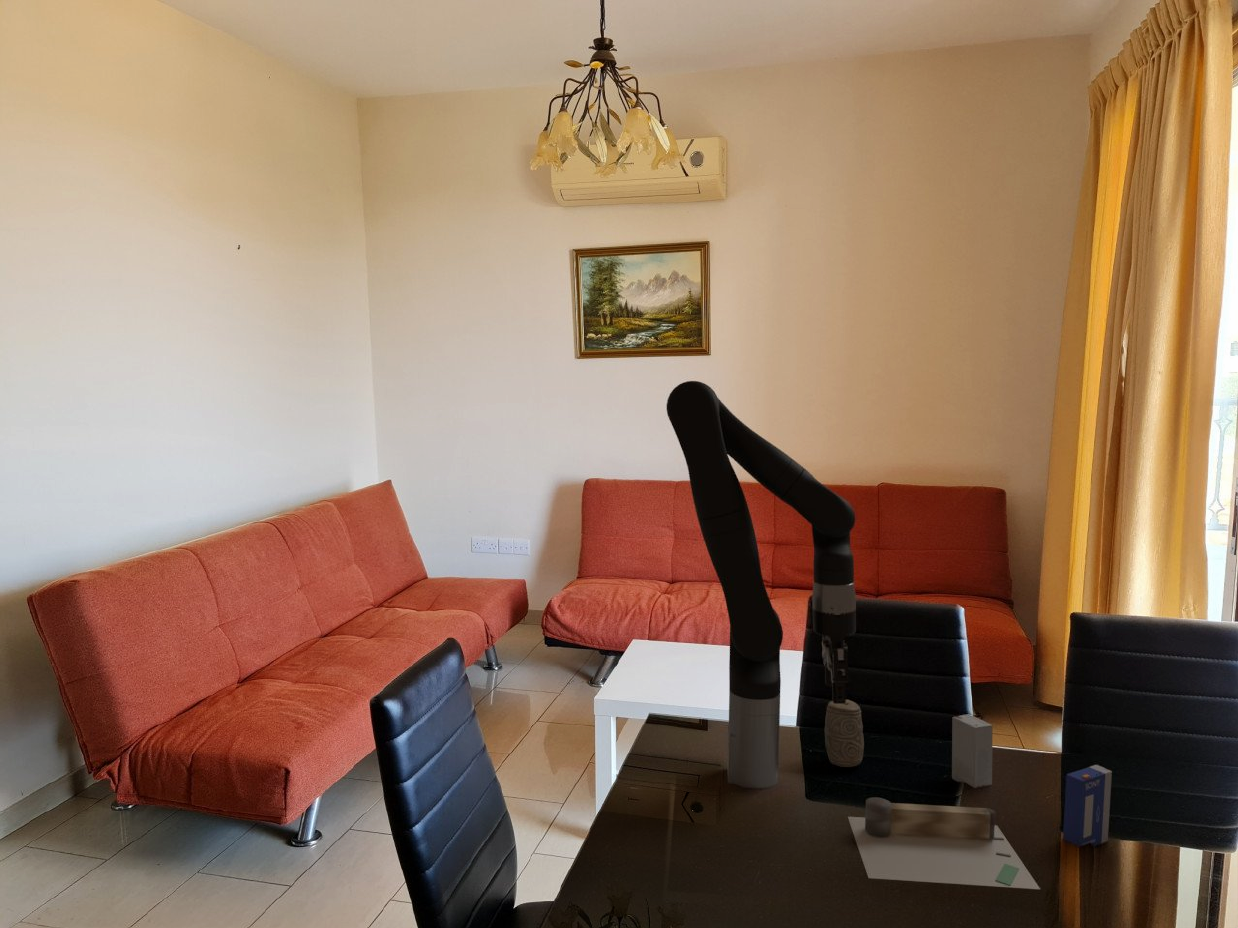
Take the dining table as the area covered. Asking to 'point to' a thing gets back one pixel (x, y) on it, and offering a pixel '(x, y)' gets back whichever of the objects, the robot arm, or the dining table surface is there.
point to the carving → (844, 734)
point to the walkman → (1087, 806)
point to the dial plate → (941, 858)
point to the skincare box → (971, 751)
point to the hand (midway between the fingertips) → (835, 694)
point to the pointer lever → (927, 820)
